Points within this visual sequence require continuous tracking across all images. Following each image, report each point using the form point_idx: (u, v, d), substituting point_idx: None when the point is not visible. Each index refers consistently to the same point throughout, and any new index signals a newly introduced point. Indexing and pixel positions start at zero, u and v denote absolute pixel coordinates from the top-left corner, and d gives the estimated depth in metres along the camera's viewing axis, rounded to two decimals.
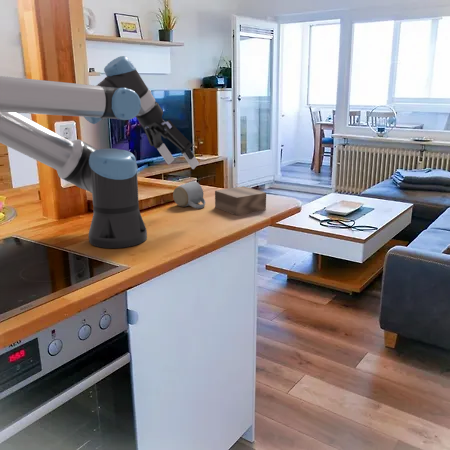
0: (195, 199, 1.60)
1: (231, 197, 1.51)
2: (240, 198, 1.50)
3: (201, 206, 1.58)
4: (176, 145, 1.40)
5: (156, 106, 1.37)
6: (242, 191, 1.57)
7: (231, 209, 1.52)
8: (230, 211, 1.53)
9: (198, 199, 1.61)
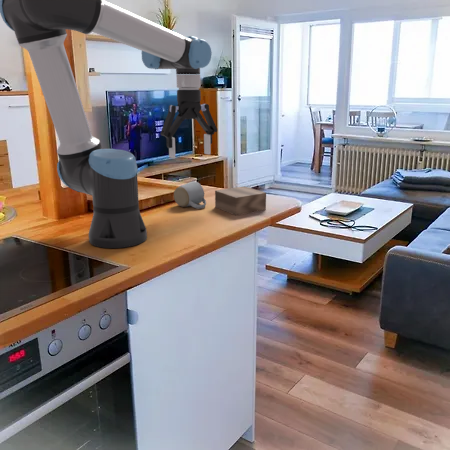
0: (196, 199, 1.60)
1: (230, 197, 1.51)
2: (239, 198, 1.50)
3: (202, 206, 1.58)
4: (207, 127, 1.57)
5: None
6: (242, 191, 1.57)
7: (231, 209, 1.52)
8: (229, 211, 1.53)
9: (199, 199, 1.61)
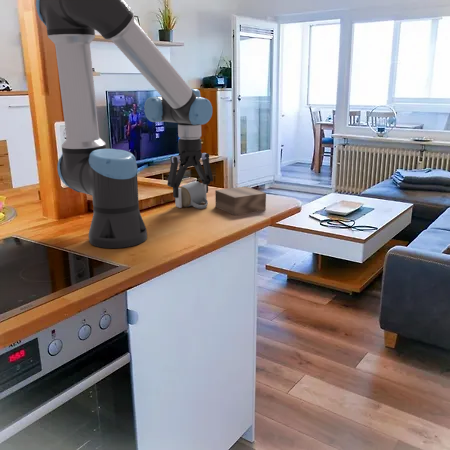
0: (198, 199, 1.60)
1: (230, 197, 1.51)
2: (238, 198, 1.50)
3: (203, 206, 1.58)
4: (204, 176, 1.61)
5: None
6: (242, 191, 1.57)
7: (230, 209, 1.53)
8: (229, 211, 1.53)
9: (201, 199, 1.61)
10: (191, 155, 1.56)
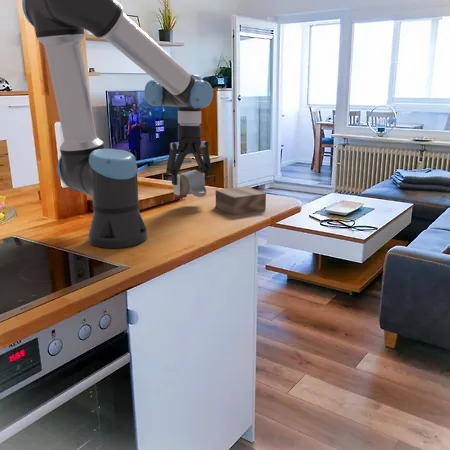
0: (196, 187, 1.58)
1: (229, 197, 1.52)
2: (238, 198, 1.50)
3: (202, 194, 1.56)
4: (202, 164, 1.60)
5: None
6: (242, 191, 1.57)
7: (229, 209, 1.53)
8: (228, 211, 1.53)
9: (199, 188, 1.59)
10: (190, 142, 1.55)
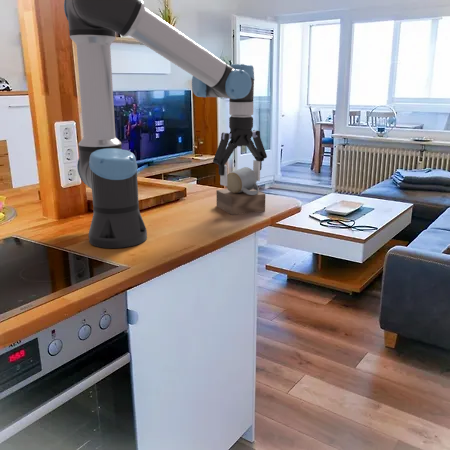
0: (248, 185, 1.54)
1: (228, 197, 1.52)
2: (236, 198, 1.50)
3: (255, 193, 1.52)
4: (257, 153, 1.56)
5: None
6: None
7: (228, 209, 1.53)
8: (227, 211, 1.54)
9: (251, 185, 1.55)
10: (242, 134, 1.50)
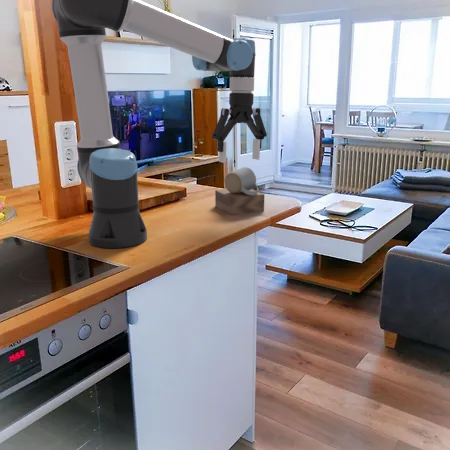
0: (248, 186, 1.54)
1: (227, 197, 1.52)
2: (235, 198, 1.50)
3: (255, 193, 1.52)
4: (257, 131, 1.54)
5: None
6: (241, 192, 1.57)
7: (227, 209, 1.53)
8: (226, 211, 1.54)
9: (251, 186, 1.55)
10: (242, 110, 1.48)
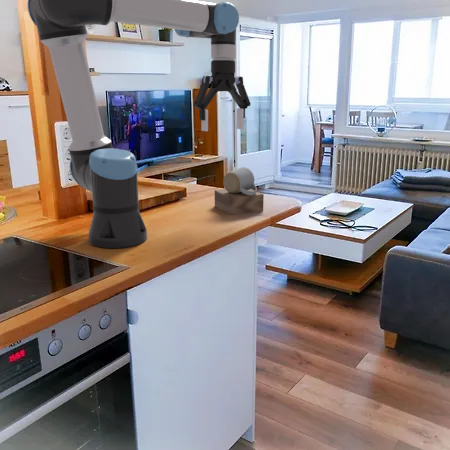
0: (246, 186, 1.54)
1: (226, 197, 1.52)
2: (234, 198, 1.50)
3: (253, 193, 1.52)
4: (240, 100, 1.53)
5: None
6: None
7: (226, 209, 1.53)
8: (225, 211, 1.54)
9: (249, 186, 1.55)
10: (224, 78, 1.48)
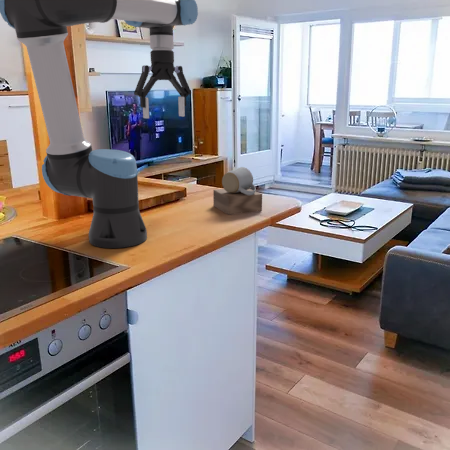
0: (245, 185, 1.54)
1: (224, 197, 1.52)
2: (232, 198, 1.50)
3: (252, 192, 1.52)
4: (181, 89, 1.61)
5: None
6: None
7: (225, 209, 1.53)
8: (224, 211, 1.54)
9: (248, 185, 1.55)
10: (163, 68, 1.55)
